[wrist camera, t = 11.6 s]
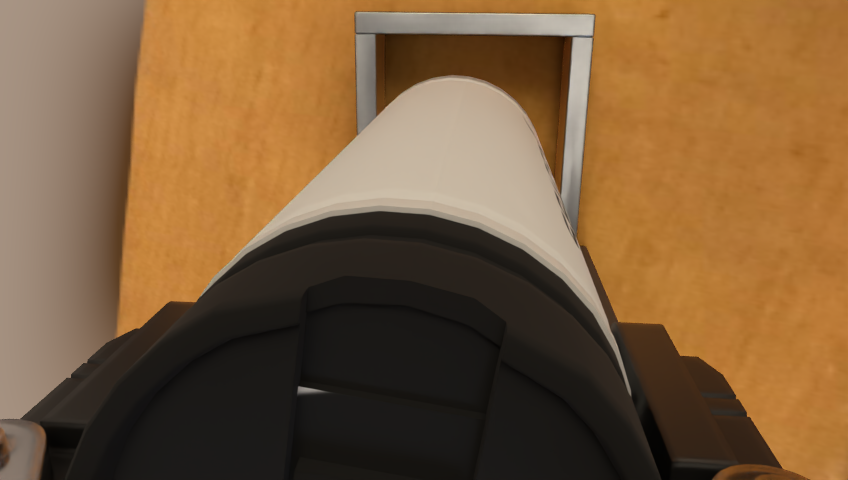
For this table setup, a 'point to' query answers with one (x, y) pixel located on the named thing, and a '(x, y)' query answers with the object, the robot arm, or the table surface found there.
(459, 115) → the travel mug
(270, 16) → the table surface
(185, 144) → the table surface
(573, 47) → the frame
